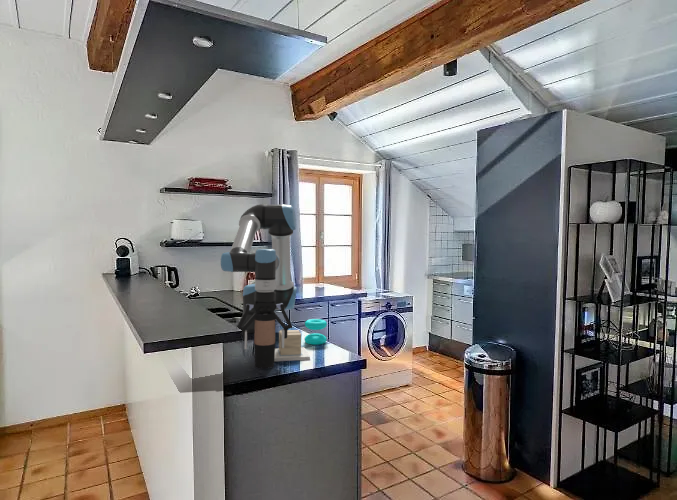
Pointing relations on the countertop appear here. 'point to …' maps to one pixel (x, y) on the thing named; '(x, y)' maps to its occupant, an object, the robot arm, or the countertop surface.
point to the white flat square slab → (291, 356)
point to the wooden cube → (290, 343)
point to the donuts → (315, 337)
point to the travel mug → (264, 341)
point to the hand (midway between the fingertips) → (264, 347)
